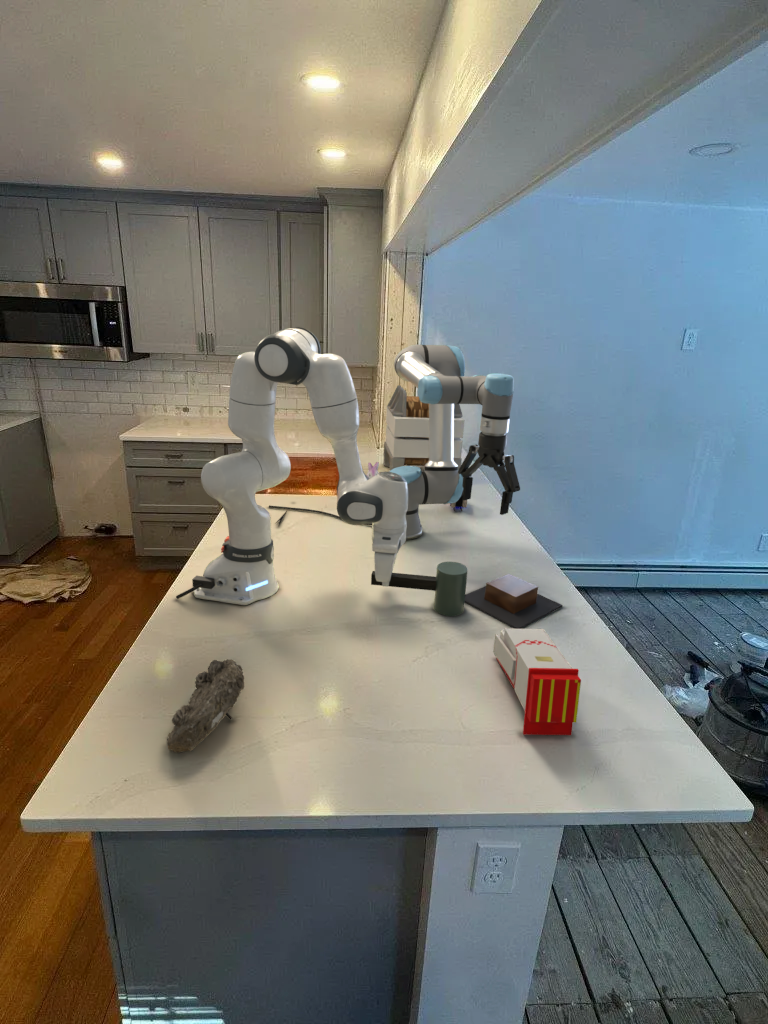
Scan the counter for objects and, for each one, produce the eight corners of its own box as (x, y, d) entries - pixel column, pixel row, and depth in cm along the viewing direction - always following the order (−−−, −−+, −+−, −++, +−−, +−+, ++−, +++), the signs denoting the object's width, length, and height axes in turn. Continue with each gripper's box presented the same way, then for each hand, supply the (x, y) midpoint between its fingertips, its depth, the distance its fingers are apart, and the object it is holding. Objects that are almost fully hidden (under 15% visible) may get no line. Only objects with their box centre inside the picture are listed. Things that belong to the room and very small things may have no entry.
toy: (540, 612, 132) (590, 675, 102) (535, 665, 134) (582, 742, 105) (489, 611, 131) (523, 674, 102) (484, 665, 134) (517, 741, 105)
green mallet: (463, 602, 155) (467, 562, 151) (463, 617, 147) (467, 576, 143) (373, 594, 157) (374, 554, 153) (368, 608, 150) (370, 567, 146)
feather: (294, 505, 227) (296, 501, 226) (277, 528, 200) (280, 524, 199) (290, 503, 226) (292, 499, 226) (273, 526, 200) (276, 521, 199)
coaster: (458, 599, 156) (458, 597, 156) (503, 580, 169) (504, 578, 169) (517, 630, 142) (518, 628, 142) (562, 607, 155) (562, 605, 155)
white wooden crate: (382, 463, 289) (386, 382, 275) (445, 464, 293) (451, 384, 279) (390, 482, 257) (394, 392, 243) (460, 483, 261) (468, 394, 247)
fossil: (192, 660, 117) (244, 628, 112) (224, 691, 120) (276, 661, 115) (142, 746, 98) (202, 712, 93) (182, 779, 101) (242, 748, 96)
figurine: (369, 502, 230) (370, 466, 225) (359, 494, 239) (360, 460, 234) (390, 499, 234) (391, 464, 229) (378, 492, 243) (380, 458, 238)
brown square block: (484, 599, 156) (486, 582, 154) (506, 589, 162) (508, 573, 160) (513, 614, 149) (515, 597, 147) (536, 603, 155) (538, 586, 153)
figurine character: (467, 516, 223) (461, 500, 237) (469, 499, 220) (463, 483, 233) (450, 516, 223) (446, 499, 236) (452, 498, 220) (447, 483, 233)
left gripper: (382, 519, 156) (380, 564, 161) (371, 548, 137) (369, 598, 142) (404, 521, 156) (402, 566, 160) (397, 550, 137) (394, 601, 141)
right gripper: (450, 425, 159) (443, 496, 167) (523, 444, 142) (512, 523, 150) (467, 422, 164) (460, 491, 172) (540, 441, 147) (529, 517, 155)
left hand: (386, 582), depth 151 cm, fingers closed on green mallet, 2 cm apart
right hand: (484, 506), depth 161 cm, fingers open, 13 cm apart
